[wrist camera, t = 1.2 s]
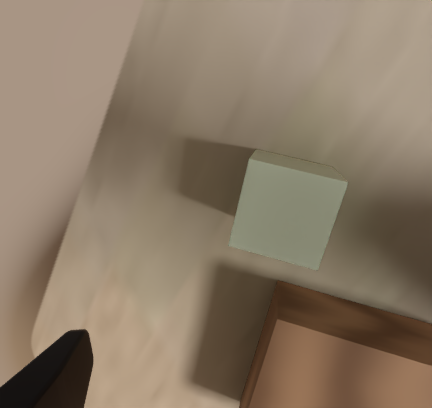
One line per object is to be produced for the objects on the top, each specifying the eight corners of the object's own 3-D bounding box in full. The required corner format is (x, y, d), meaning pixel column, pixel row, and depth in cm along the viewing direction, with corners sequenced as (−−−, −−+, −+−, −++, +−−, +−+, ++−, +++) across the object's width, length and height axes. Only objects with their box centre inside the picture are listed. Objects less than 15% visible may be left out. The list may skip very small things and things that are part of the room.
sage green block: (332, 166, 20) (348, 182, 15) (309, 236, 22) (317, 270, 17) (256, 148, 21) (249, 158, 16) (239, 218, 22) (227, 246, 17)
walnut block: (448, 326, 22) (495, 385, 17) (384, 447, 25) (408, 523, 20) (277, 277, 23) (277, 319, 18) (240, 398, 27) (232, 458, 22)
